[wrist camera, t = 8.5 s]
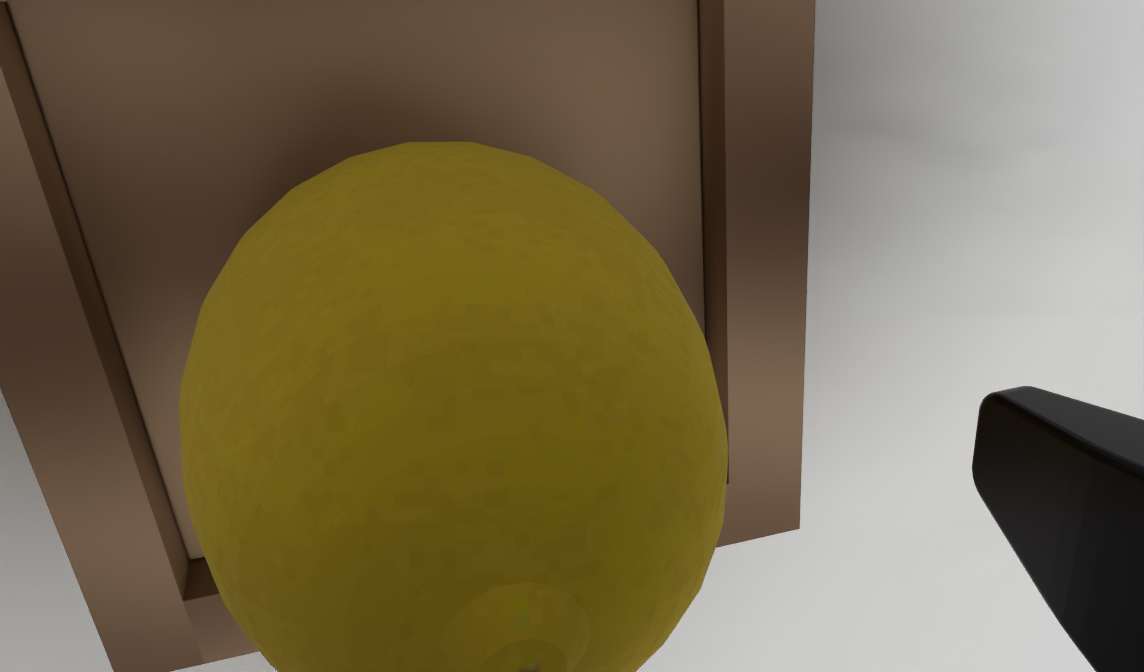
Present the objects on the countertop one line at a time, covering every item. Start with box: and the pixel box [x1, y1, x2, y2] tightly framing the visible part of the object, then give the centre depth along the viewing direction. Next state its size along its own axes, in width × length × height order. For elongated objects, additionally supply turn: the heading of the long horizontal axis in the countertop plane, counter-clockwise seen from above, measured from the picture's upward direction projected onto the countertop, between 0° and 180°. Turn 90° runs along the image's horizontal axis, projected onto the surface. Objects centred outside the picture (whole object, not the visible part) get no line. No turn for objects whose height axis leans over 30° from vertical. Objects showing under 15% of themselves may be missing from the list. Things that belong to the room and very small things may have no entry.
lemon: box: [179, 142, 728, 672], centre depth 11 cm, size 6×6×8 cm
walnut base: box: [0, 0, 815, 672], centre depth 15 cm, size 11×11×4 cm
